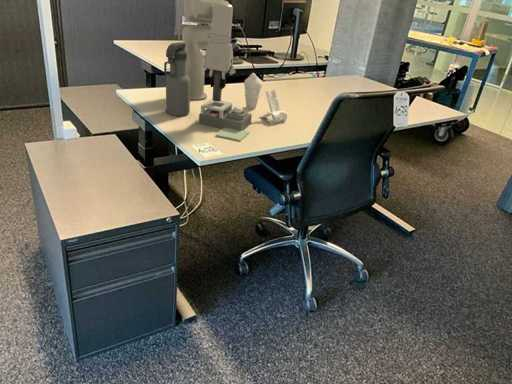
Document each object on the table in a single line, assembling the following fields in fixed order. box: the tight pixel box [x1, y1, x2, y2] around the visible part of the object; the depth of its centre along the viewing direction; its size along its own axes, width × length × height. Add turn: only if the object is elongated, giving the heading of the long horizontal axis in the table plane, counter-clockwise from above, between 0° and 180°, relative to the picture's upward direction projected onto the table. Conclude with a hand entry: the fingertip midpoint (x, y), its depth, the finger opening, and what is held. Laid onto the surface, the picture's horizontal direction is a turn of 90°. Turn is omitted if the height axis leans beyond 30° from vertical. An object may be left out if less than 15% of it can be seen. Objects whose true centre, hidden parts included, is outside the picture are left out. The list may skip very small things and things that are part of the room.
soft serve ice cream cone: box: [243, 72, 263, 110], centre depth 190 cm, size 8×8×16 cm
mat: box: [215, 128, 250, 142], centre depth 161 cm, size 10×10×1 cm
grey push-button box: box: [198, 98, 253, 131], centre depth 170 cm, size 18×12×7 cm, turn 72°
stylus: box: [211, 70, 223, 101], centre depth 166 cm, size 3×3×12 cm
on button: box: [233, 106, 244, 114], centre depth 167 cm, size 4×4×2 cm
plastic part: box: [258, 89, 288, 125], centre depth 179 cm, size 8×10×12 cm
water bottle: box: [163, 41, 191, 117], centre depth 171 cm, size 10×10×28 cm
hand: (217, 86), depth 166 cm, fingers closed on stylus, 3 cm apart
